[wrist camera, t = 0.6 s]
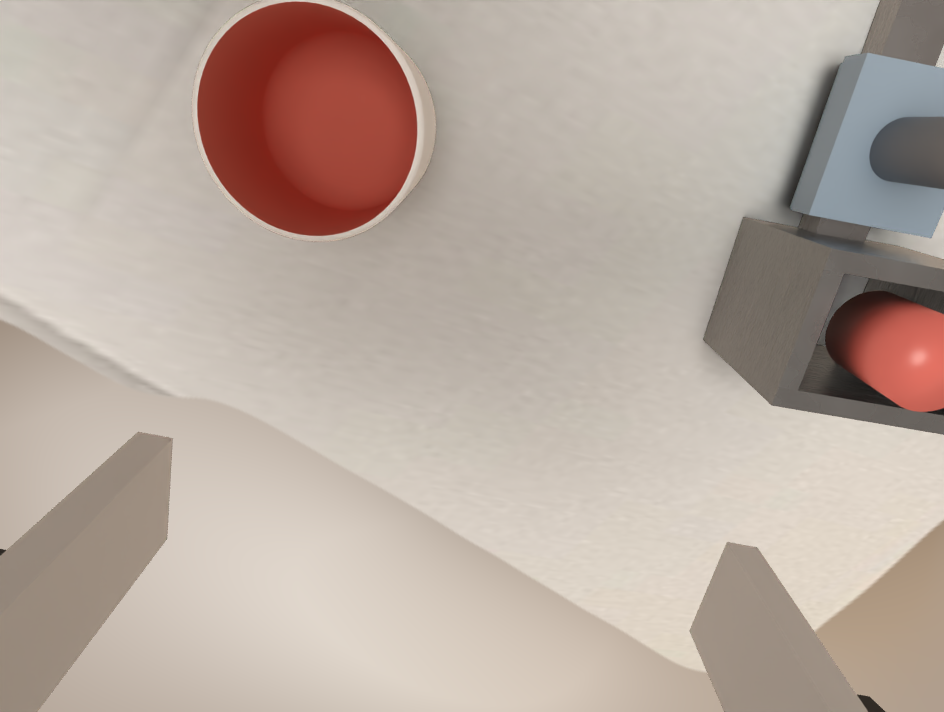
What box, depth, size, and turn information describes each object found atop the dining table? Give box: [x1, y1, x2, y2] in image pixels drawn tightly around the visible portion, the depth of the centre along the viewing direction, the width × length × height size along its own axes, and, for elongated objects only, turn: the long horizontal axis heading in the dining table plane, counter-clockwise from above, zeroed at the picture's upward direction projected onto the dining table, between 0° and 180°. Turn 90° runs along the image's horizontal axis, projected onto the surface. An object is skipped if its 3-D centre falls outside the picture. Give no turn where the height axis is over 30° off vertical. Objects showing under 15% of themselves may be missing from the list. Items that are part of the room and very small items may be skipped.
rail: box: [799, 0, 944, 242], centre depth 32 cm, size 22×5×4 cm, turn 170°
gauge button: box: [825, 291, 944, 412], centre depth 30 cm, size 4×4×5 cm
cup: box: [192, 0, 436, 242], centre depth 31 cm, size 10×10×10 cm
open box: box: [703, 217, 944, 435], centre depth 35 cm, size 8×10×10 cm
